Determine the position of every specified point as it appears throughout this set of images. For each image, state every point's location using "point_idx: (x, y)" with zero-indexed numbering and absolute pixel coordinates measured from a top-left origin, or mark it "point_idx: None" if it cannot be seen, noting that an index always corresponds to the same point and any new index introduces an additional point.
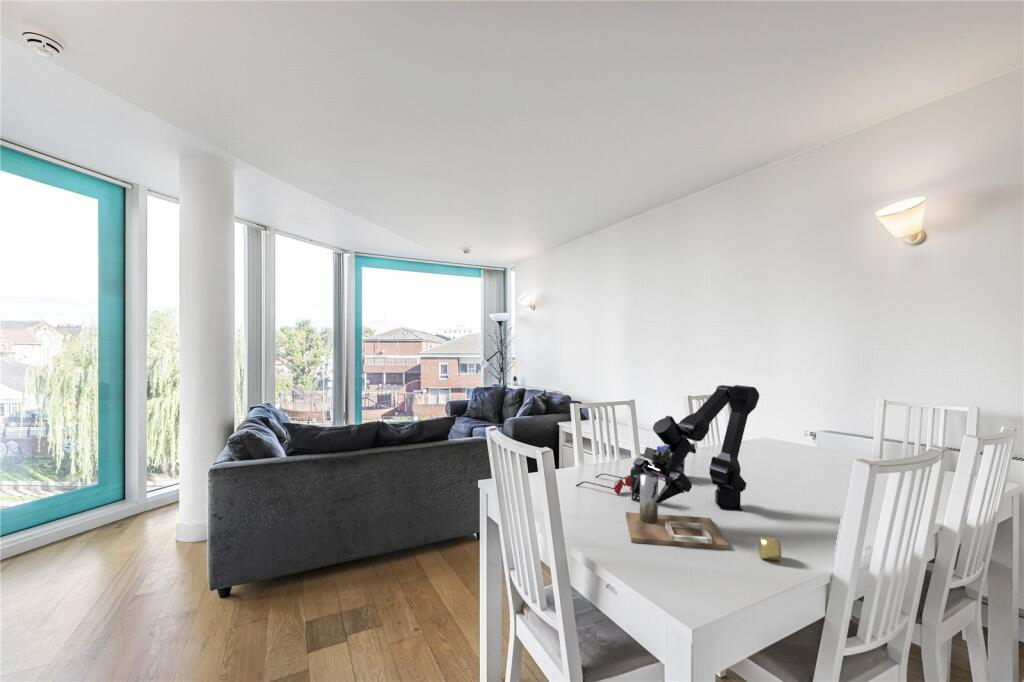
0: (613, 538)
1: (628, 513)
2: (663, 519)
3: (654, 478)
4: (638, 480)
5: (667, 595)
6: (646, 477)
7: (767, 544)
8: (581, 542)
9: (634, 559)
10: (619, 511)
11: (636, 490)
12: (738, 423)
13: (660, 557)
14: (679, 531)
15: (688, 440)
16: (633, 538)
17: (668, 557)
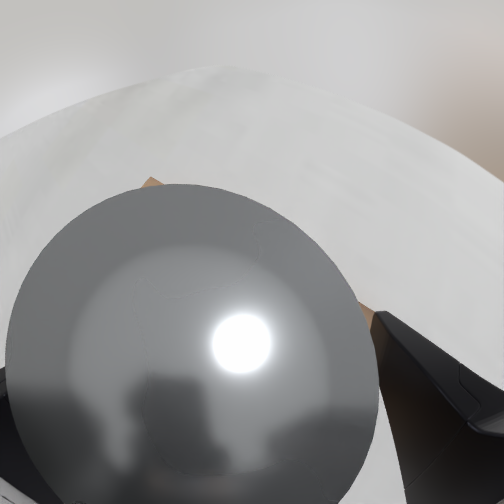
0: (209, 151)
1: (367, 321)
2: None
3: (18, 343)
4: (431, 373)
5: (16, 147)
6: (79, 224)
7: None
8: (234, 80)
9: (94, 147)
10: (434, 327)
11: (376, 337)
12: None
13: (60, 209)
14: None
15: None
16: (146, 183)
17: (49, 228)
